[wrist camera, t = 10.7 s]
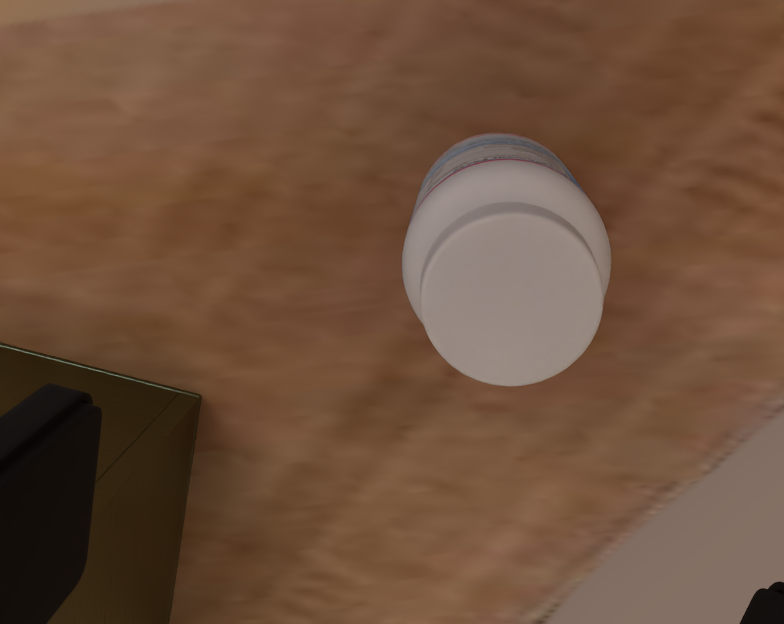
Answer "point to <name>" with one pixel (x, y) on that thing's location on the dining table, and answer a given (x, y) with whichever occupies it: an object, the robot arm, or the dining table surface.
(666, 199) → the dining table surface
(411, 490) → the dining table surface
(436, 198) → the pill bottle
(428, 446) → the dining table surface
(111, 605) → the waste bin
